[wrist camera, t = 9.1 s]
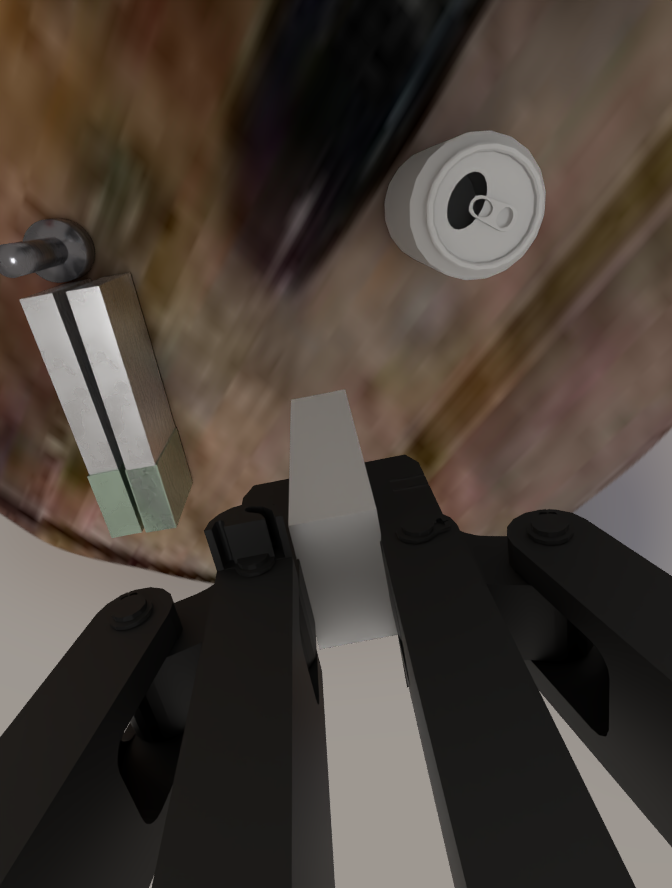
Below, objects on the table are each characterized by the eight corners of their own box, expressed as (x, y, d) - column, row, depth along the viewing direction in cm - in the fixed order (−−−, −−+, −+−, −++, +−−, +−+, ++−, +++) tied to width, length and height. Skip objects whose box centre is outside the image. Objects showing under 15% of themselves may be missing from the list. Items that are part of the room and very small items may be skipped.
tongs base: (26, 224, 39) (-42, 230, 31) (83, 213, 39) (30, 216, 31) (126, 493, 47) (93, 550, 40) (173, 483, 47) (150, 539, 40)
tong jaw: (100, 277, 40) (64, 292, 34) (131, 272, 40) (100, 285, 34) (166, 487, 47) (146, 532, 41) (192, 482, 47) (176, 527, 41)
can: (410, 127, 38) (456, 98, 27) (506, 175, 40) (586, 166, 29) (365, 237, 41) (391, 250, 30) (457, 278, 42) (514, 305, 31)
